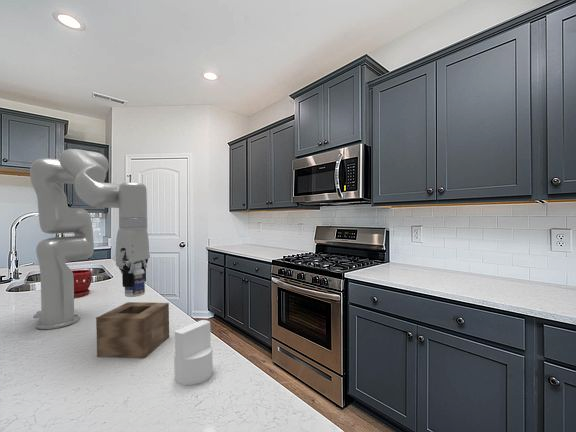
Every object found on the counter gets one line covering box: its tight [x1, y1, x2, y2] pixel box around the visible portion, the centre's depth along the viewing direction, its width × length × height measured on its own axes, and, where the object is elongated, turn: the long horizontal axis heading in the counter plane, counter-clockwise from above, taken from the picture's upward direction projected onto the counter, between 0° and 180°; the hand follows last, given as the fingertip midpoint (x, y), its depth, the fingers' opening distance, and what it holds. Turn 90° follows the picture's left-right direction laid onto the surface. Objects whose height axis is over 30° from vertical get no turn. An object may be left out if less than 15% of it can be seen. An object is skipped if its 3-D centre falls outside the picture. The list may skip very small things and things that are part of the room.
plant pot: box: [71, 269, 93, 298], centre depth 144 cm, size 13×13×12 cm
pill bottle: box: [124, 262, 146, 298], centre depth 88 cm, size 5×5×10 cm
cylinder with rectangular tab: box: [173, 319, 214, 386], centre depth 72 cm, size 9×9×12 cm
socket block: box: [95, 301, 170, 359], centre depth 88 cm, size 14×14×11 cm
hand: (134, 283), depth 88 cm, fingers closed on pill bottle, 5 cm apart
